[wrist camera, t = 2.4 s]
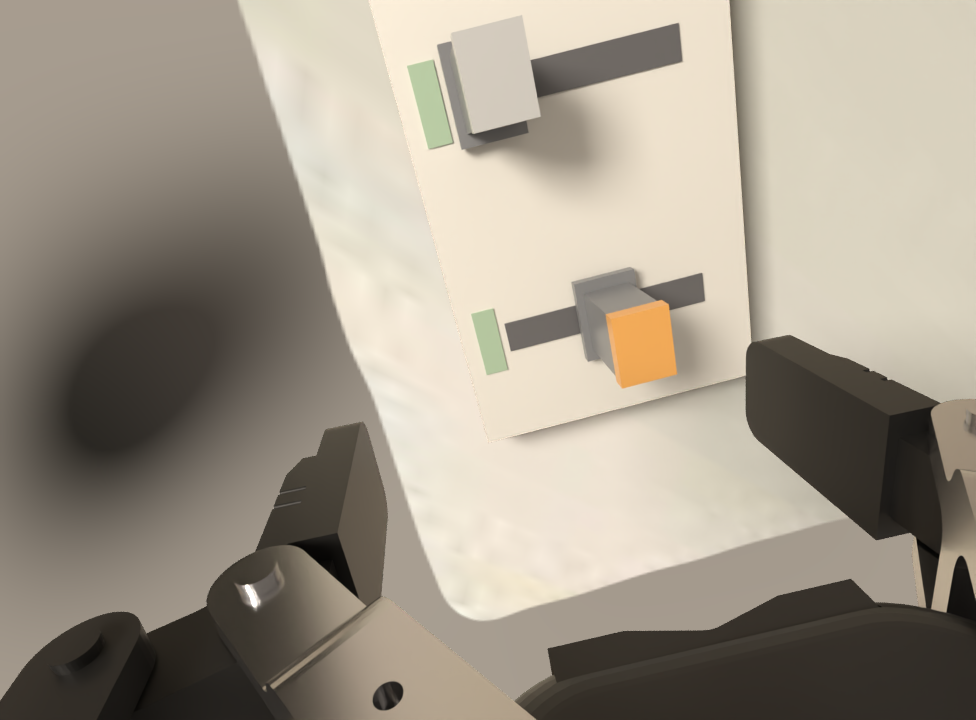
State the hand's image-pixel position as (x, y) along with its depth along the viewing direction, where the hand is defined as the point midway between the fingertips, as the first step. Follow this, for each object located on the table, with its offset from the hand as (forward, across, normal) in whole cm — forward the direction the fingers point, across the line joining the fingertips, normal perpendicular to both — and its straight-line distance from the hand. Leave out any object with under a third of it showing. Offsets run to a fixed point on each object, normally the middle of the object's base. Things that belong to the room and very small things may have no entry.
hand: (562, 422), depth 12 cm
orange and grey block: (+18, -6, +4) cm, 19 cm away
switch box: (+21, -6, -2) cm, 22 cm away
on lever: (+18, -2, -8) cm, 20 cm away
